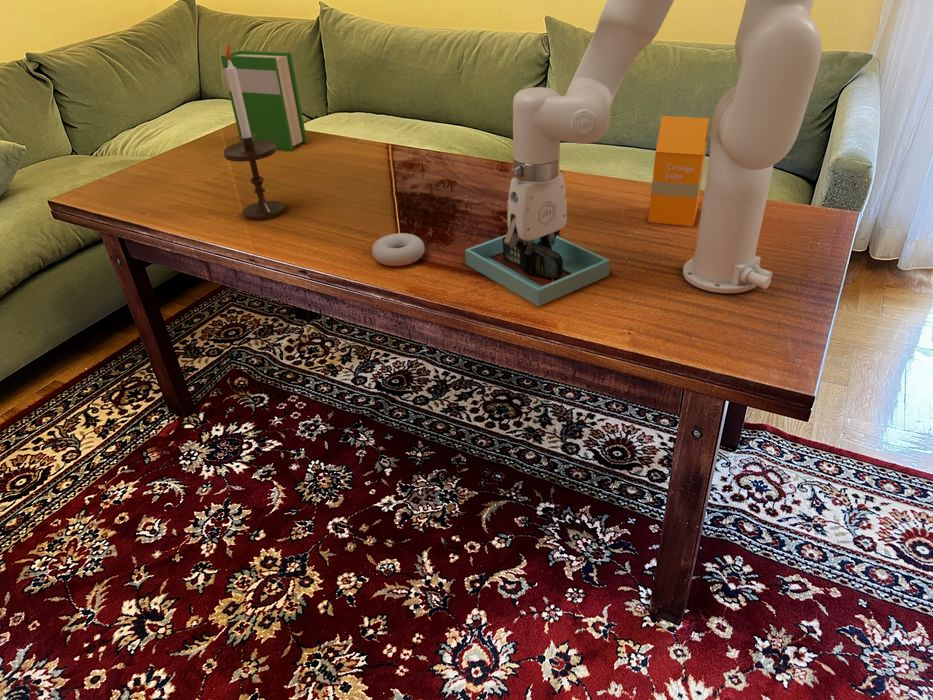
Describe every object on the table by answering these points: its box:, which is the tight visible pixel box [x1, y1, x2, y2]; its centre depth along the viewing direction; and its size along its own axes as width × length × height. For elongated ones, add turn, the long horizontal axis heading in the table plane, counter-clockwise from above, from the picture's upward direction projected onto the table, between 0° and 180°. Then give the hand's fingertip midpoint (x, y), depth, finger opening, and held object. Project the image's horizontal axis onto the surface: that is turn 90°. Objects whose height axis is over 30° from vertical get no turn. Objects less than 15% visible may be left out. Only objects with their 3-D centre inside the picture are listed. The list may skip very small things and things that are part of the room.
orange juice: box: [647, 115, 710, 227], centre depth 132 cm, size 8×9×20 cm
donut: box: [371, 232, 426, 267], centre depth 128 cm, size 10×4×10 cm
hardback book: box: [220, 50, 308, 152], centre depth 187 cm, size 18×7×24 cm, turn 65°
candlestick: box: [222, 43, 286, 221], centre depth 141 cm, size 11×11×35 cm
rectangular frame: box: [464, 234, 611, 307], centre depth 121 cm, size 20×16×3 cm
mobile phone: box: [502, 236, 567, 279], centre depth 121 cm, size 5×3×15 cm
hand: (535, 267), depth 122 cm, fingers closed on mobile phone, 3 cm apart
